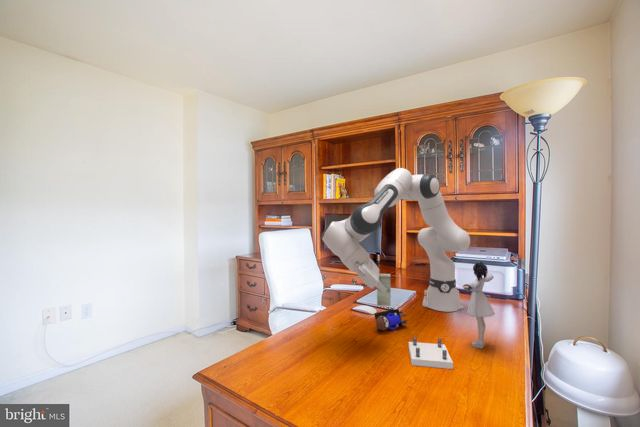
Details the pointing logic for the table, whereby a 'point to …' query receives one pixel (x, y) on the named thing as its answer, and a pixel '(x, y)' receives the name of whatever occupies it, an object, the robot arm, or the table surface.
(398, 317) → the character figurine
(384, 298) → the sage block
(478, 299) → the figurine
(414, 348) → the display base
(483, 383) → the table surface
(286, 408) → the table surface
